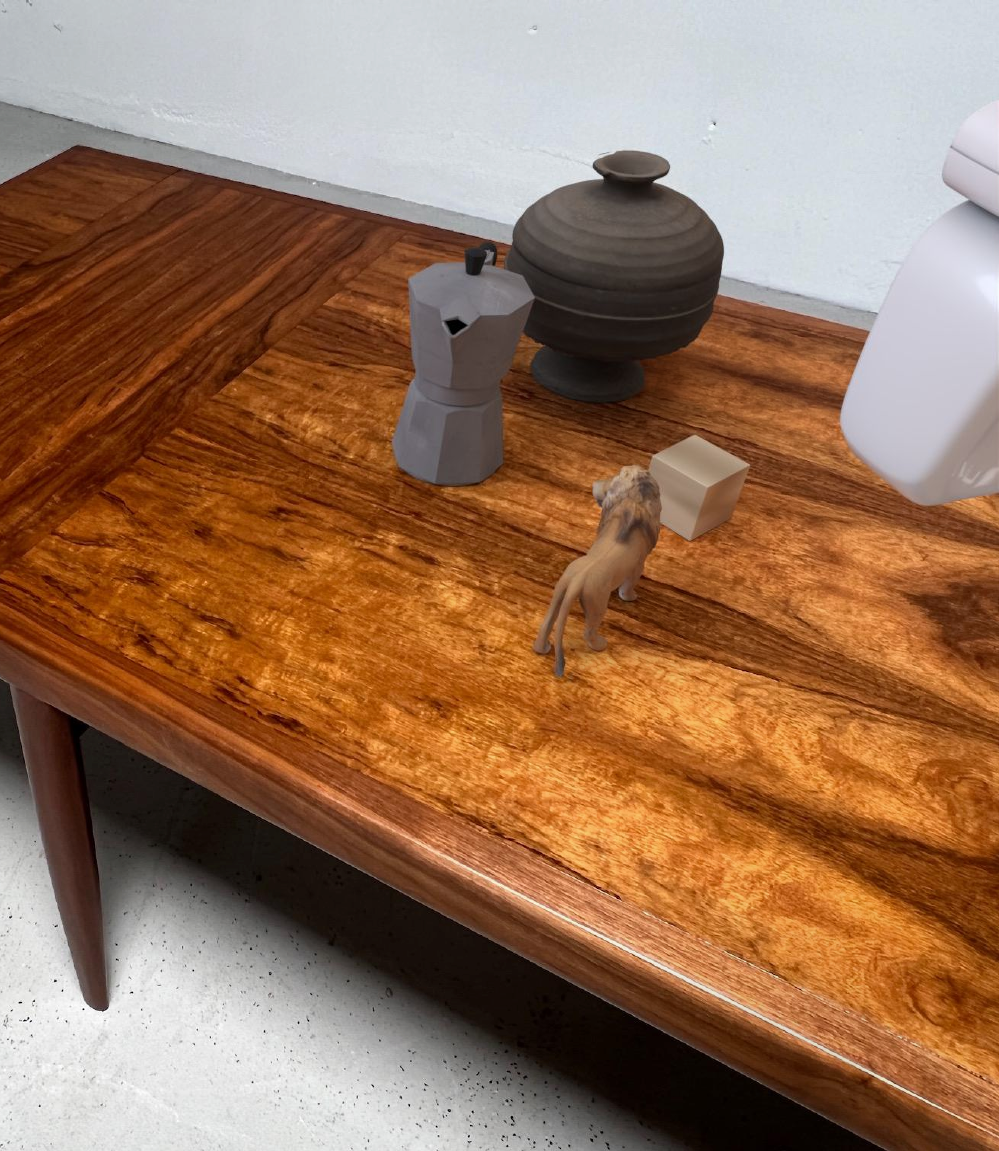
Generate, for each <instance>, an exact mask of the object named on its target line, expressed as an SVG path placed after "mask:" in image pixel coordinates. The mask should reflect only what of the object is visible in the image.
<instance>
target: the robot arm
mask: <svg viewBox="0 0 999 1151" xmlns="http://www.w3.org/2000/svg"><path fill="white" fill-rule="evenodd" d="M944 159H945V160H944V162H943V165H942V166H943V167H942V171H941V178H942V181H943V183H944V184H945V186H947V187H948V188H950V189H951V190H953V191H954V192H956V193H958V194H959V195H961V197H964V198H966V199H967V200H965V201H962V202H961V203H959V204H957V205H955V206H953V207H952V208H950V209H949V210H947V211H946V212H944V213H943V214H942V215H941V216H939V217H938V218H937V219H936V220H934V221H933V222H932V223H931V224H930V225H929V226H928V227H927V228H926V229H925V231H923V233H922V234H921V235H920V236H919V237H918V239H917V240H916V241H915V243H914V244H913V245H912V247H911V248H910V250H909V251H908V253H907V255H906V256H905V258H904V260H903V261H902V263H901V265H900V267H899V268H898V270H897V272H896V274H895V276H894V278H893V280H892V282H891V284H890V286H889V289H888V291H887V293H886V295H885V297H884V299H883V302H882V304H881V306H880V308H879V310H878V313H877V315H876V317H875V319H874V322H873V324H872V326H871V329H870V331H869V333H868V335H867V337H866V340H865V342H864V345H863V348H862V350H861V352H860V355H859V358H858V360H857V362H856V365H855V368H854V370H853V373H852V375H851V377H850V380H849V383H848V386H847V389H846V391H845V395H844V398H843V402H842V405H841V409H840V414H839V425H840V429H841V432H842V434H843V437H844V439H845V441H846V444H847V446H848V448H849V449H850V451H851V452H852V454H853V455H854V456H855V457H856V458H857V459H858V460H859V461H860V462H861V463H863V464H864V465H865V466H866V467H867V468H868V469H870V470H871V471H872V472H873V473H874V474H875V475H876V476H878V477H879V478H880V479H882V480H883V481H884V482H885V483H886V484H888V485H889V486H890V487H891V488H893V489H894V490H895V491H896V492H898V493H900V495H901V496H903V497H904V498H906V499H907V500H909V501H911V502H912V503H914V504H916V505H919V506H924V507H932V506H939V505H940V506H941V505H945V504H948V503H949V504H951V503H954V502H959V501H964V500H968V499H974V498H975V499H976V498H979V497H980V498H981V497H985V496H990V495H996V494H999V98H997V99H996V100H993V101H992V102H990V103H988V104H985V105H984V106H982V107H980V108H978V109H977V110H975V111H974V112H973V113H971V114H970V115H969V116H968V117H966V119H965V120H964V121H963V122H962V124H960V125H959V128H958V129H957V131H956V133H955V134H954V136H953V139H952V141H951V142H950V146H949V148H948V151H947V154H946V156H945V158H944Z"/></svg>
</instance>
